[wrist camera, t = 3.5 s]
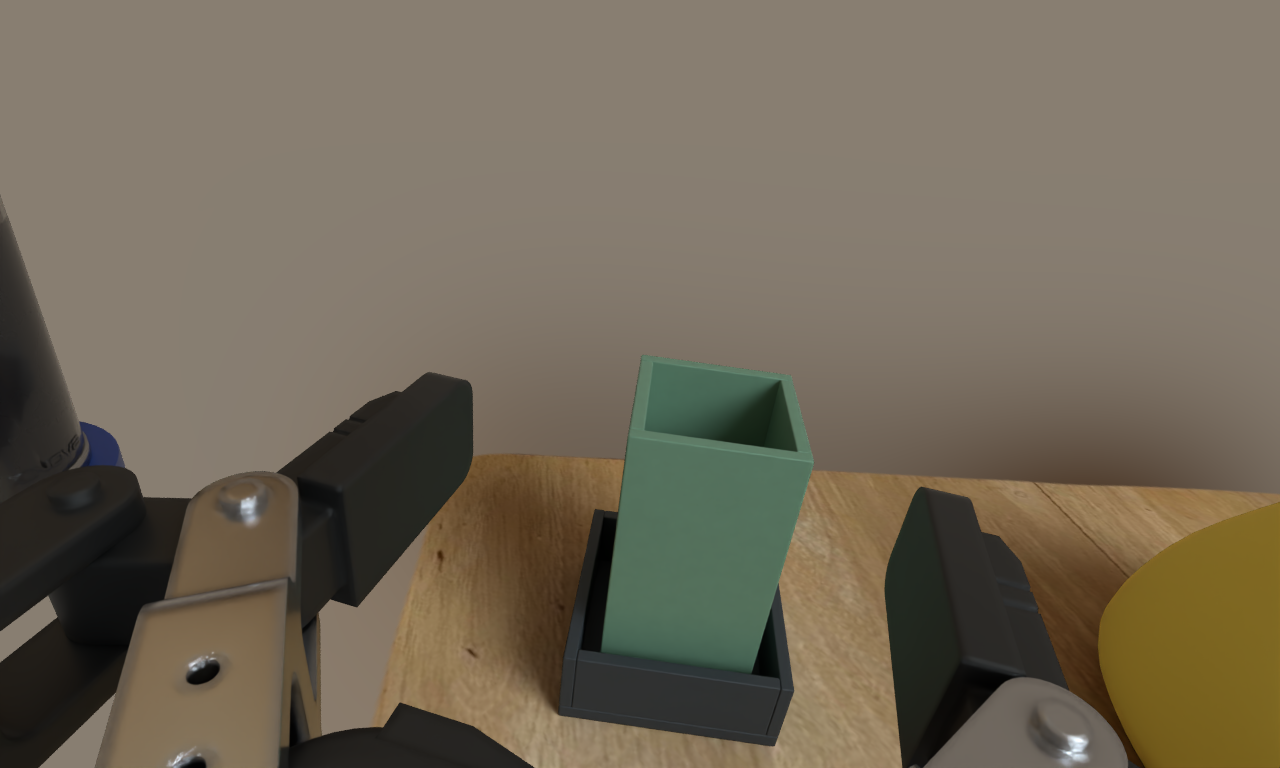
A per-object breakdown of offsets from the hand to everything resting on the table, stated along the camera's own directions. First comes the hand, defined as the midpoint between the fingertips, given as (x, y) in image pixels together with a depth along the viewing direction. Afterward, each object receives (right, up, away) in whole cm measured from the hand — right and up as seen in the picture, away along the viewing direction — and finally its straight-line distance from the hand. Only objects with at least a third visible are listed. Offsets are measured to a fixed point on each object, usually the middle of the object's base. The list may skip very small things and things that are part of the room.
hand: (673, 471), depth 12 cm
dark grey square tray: (+1, -10, +18) cm, 21 cm away
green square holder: (+1, -10, +18) cm, 20 cm away
